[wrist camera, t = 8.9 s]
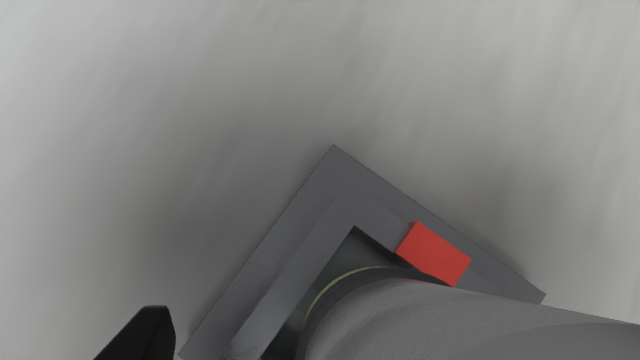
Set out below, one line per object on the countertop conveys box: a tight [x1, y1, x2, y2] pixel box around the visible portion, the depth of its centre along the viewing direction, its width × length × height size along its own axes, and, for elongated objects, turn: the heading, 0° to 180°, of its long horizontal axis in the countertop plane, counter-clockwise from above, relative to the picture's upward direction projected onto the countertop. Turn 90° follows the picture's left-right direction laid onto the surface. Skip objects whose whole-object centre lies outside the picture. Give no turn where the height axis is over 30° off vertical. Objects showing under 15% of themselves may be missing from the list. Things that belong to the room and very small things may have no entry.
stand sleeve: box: [178, 144, 546, 360], centre depth 17 cm, size 10×10×6 cm
